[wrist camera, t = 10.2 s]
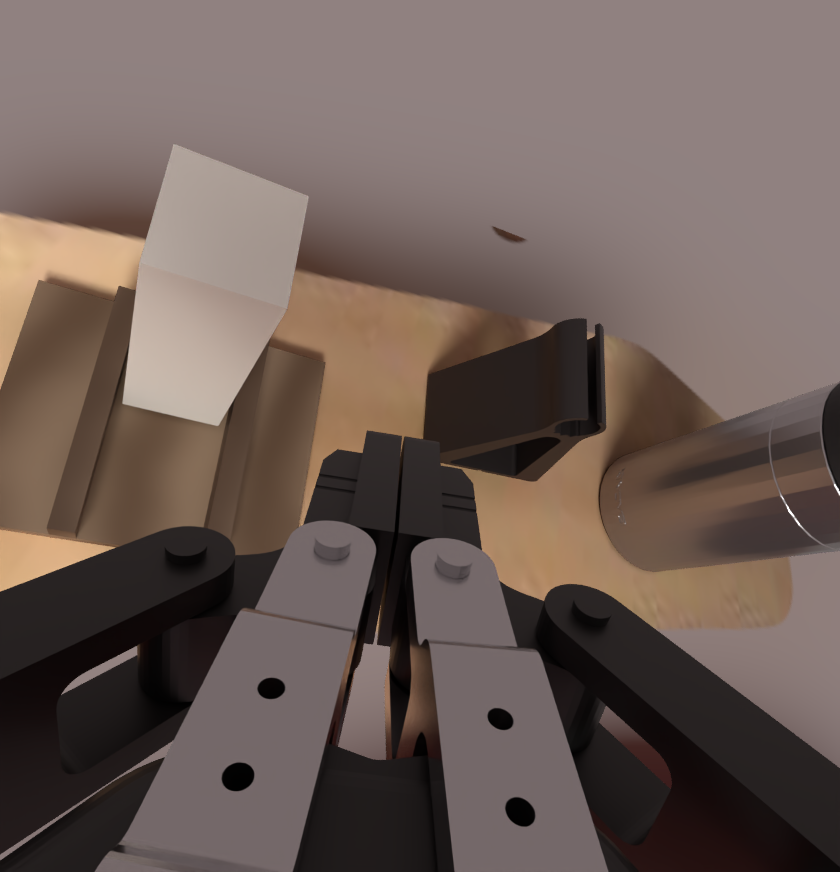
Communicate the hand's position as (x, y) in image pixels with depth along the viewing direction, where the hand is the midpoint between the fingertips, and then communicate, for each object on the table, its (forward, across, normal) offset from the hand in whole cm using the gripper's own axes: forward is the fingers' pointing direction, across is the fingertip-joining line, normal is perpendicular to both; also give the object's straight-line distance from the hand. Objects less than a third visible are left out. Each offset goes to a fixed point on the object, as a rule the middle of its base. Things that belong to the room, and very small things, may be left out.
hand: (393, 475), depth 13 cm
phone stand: (+30, -7, +12) cm, 33 cm away
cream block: (+22, +12, +8) cm, 26 cm away
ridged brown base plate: (+21, +12, +11) cm, 26 cm away
